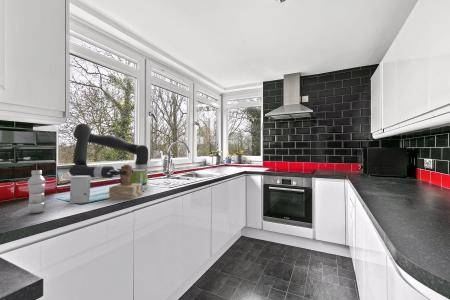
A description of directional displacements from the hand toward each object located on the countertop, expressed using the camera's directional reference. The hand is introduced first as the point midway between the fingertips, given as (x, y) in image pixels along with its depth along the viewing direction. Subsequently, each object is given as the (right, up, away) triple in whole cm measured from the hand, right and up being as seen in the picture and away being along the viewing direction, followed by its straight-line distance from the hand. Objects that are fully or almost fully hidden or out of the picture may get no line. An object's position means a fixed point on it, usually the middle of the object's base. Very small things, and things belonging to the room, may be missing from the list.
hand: (129, 172), depth 128 cm
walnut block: (-2, -8, 0) cm, 8 cm away
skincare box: (-22, -16, -12) cm, 30 cm away
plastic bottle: (-28, -16, -32) cm, 46 cm away
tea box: (-6, -16, +20) cm, 26 cm away
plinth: (-2, -16, 0) cm, 16 cm away
